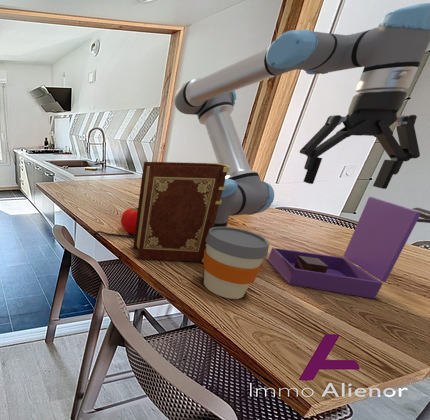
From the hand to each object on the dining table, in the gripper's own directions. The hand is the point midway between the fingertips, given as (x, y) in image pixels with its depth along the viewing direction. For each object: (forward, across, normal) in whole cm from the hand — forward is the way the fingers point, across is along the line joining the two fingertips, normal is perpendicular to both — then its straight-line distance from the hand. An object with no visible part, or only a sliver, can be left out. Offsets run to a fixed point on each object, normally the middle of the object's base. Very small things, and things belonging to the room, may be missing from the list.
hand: (342, 185), depth 61 cm
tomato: (+27, -48, +14) cm, 57 cm away
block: (+26, 0, 0) cm, 26 cm away
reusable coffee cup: (+27, -24, -15) cm, 39 cm away
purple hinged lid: (+13, +10, 0) cm, 16 cm away
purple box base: (+27, +2, 0) cm, 27 cm away
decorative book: (+27, -36, -1) cm, 45 cm away
